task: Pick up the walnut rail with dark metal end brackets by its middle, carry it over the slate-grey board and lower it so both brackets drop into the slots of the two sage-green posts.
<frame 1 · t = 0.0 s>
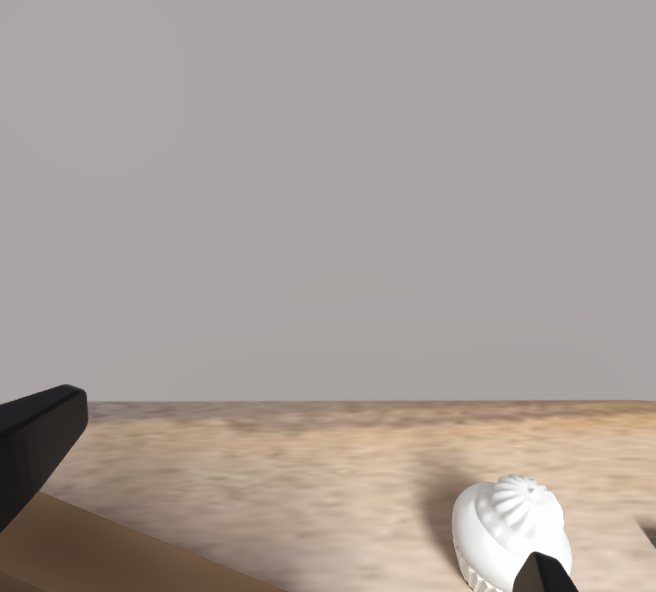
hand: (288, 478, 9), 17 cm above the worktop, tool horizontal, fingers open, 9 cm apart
muffin: (486, 576, 26), on the worktop
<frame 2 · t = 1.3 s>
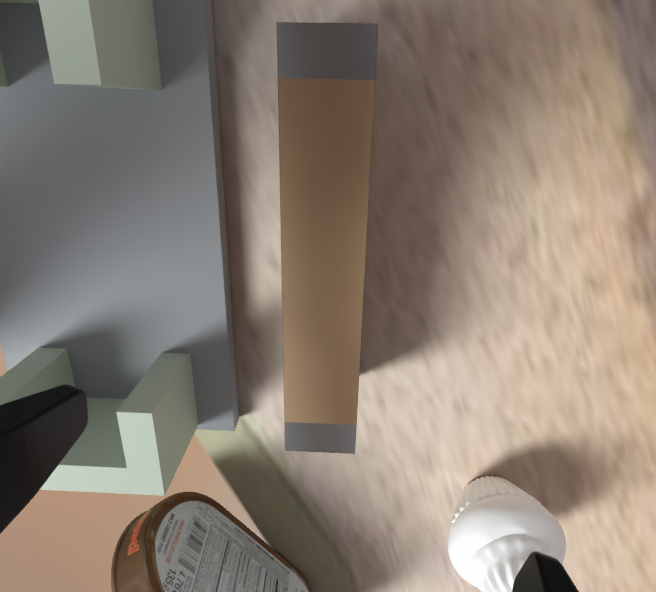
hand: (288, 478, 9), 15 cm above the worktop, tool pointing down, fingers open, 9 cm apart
post frame: (105, 227, 23), on the worktop
rail: (329, 234, 22), on the worktop
tin: (248, 537, 31), on the worktop
muffin: (486, 492, 28), on the worktop
when the fingers open (4 cm above the worktop, at t = 7.4 s): rail drops 1 cm, resting on post frame.
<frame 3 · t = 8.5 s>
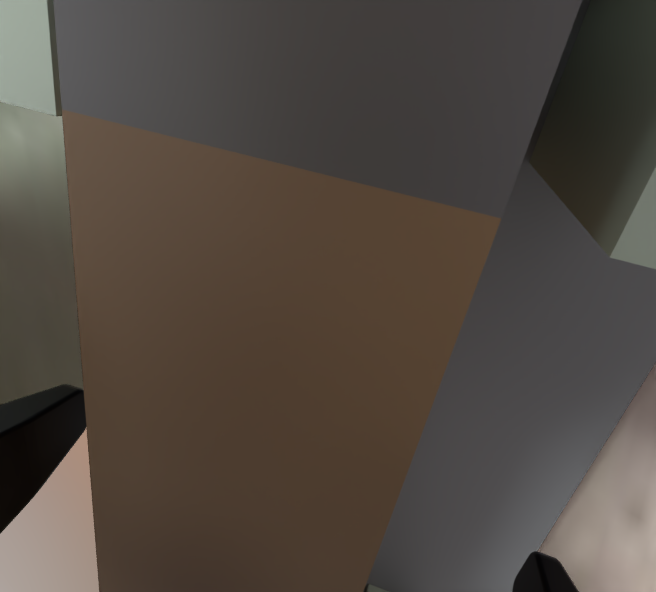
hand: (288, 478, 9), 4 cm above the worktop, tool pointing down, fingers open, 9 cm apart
post frame: (338, 368, 12), on the worktop
rail: (327, 394, 11), point 1 cm above the worktop, touching post frame
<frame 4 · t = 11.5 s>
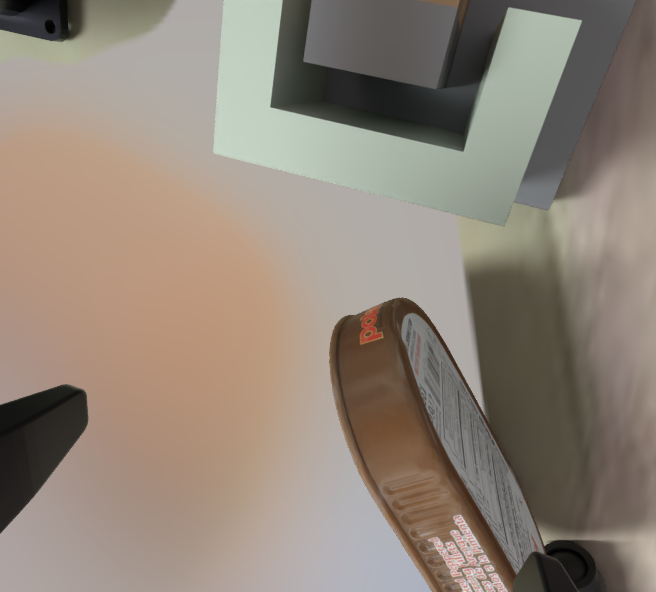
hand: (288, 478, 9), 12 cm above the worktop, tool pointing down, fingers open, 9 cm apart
tin: (458, 407, 22), on the worktop
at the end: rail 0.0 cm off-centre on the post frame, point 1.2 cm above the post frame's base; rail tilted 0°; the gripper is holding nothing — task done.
